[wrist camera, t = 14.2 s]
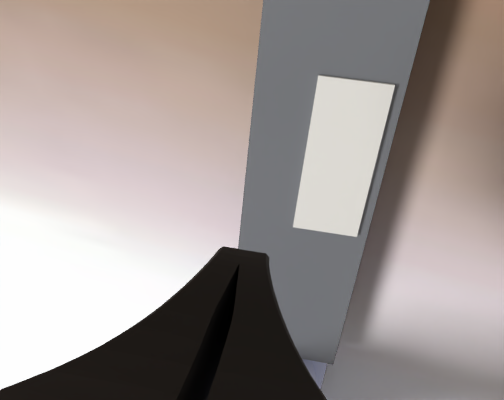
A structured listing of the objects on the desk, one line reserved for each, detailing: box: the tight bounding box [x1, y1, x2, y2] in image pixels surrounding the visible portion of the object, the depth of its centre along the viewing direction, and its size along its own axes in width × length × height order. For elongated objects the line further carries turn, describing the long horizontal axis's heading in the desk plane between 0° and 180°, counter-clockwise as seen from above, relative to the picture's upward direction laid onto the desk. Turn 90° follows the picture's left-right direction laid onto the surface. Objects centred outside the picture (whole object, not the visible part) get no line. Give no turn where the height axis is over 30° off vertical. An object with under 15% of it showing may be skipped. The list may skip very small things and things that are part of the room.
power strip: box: [238, 0, 430, 364], centre depth 19 cm, size 24×6×2 cm, turn 174°
